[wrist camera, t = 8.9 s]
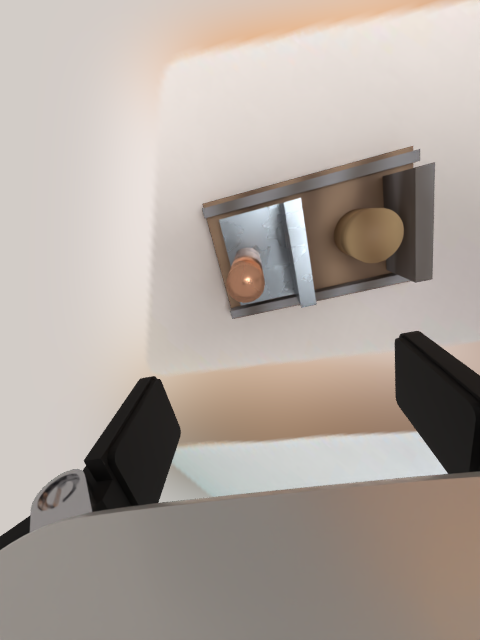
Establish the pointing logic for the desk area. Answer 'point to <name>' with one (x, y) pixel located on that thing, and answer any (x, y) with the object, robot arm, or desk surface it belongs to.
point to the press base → (326, 210)
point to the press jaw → (269, 254)
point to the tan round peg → (369, 234)
